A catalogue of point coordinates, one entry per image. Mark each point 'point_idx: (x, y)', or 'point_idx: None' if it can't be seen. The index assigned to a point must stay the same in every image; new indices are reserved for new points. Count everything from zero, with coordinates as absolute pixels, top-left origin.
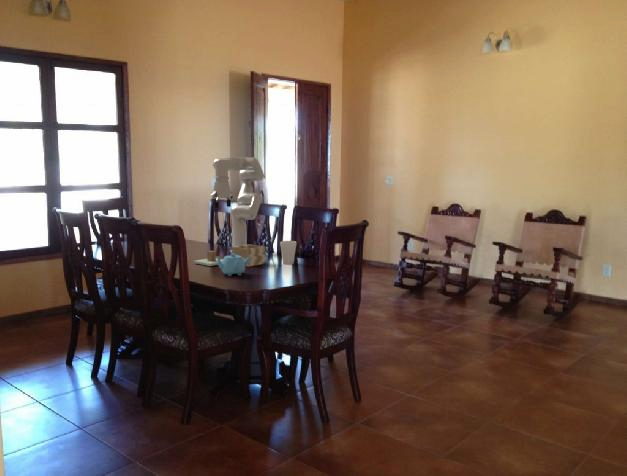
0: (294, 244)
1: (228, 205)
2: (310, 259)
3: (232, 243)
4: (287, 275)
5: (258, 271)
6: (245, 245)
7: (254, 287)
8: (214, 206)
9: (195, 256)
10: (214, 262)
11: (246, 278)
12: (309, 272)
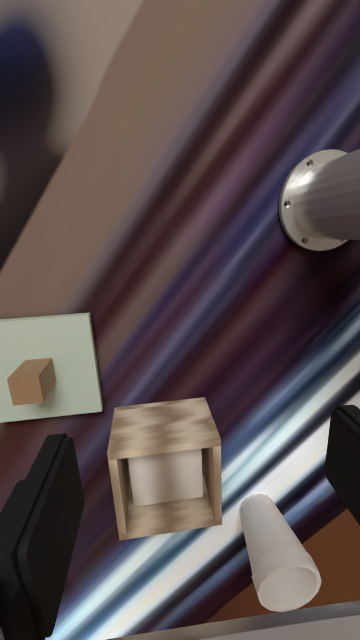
0: (287, 601)
1: (338, 463)
2: None
3: (318, 179)
4: (126, 619)
5: (98, 550)
6: (188, 448)
7: None
8: (40, 450)
9: (84, 147)
10: (28, 410)
11: None
12: (197, 617)
